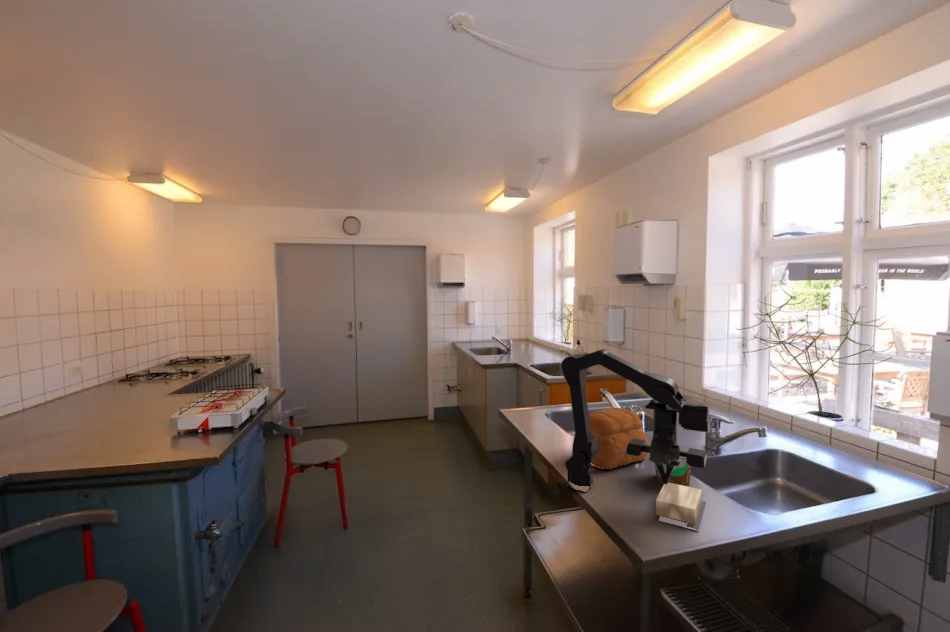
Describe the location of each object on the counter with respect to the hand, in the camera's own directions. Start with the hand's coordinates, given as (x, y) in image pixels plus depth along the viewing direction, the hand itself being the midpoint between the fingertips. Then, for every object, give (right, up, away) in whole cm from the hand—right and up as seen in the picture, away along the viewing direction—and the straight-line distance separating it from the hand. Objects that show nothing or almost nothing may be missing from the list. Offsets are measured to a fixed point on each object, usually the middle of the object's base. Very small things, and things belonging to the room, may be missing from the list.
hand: (665, 483), depth 111 cm
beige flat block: (-1, -4, +1) cm, 4 cm away
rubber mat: (+4, -7, -2) cm, 8 cm away
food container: (+8, -6, +15) cm, 17 cm away
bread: (-4, -5, +33) cm, 34 cm away
